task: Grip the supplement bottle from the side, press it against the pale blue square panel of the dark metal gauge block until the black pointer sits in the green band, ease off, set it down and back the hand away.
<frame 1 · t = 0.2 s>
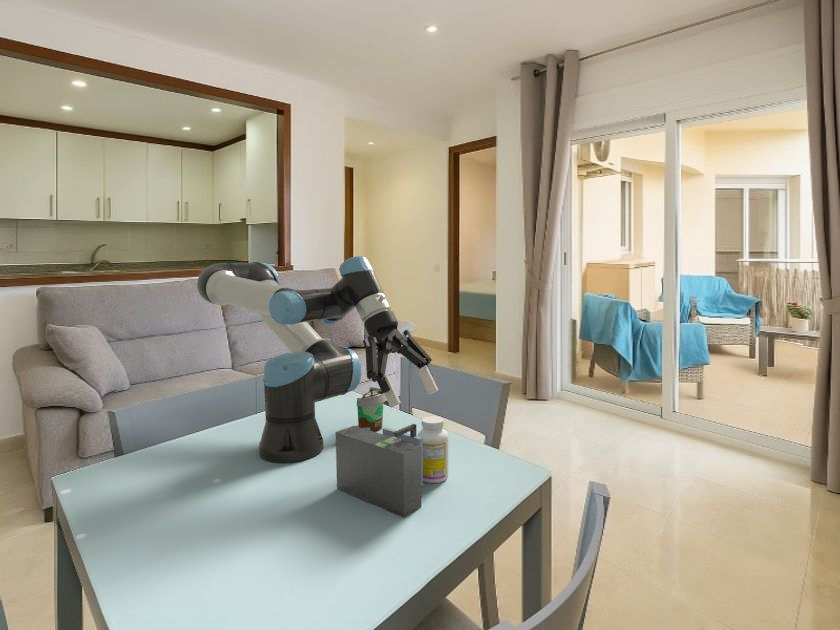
hand: (415, 398, 113), 15 cm above the table, tool tilted 35°, fingers open, 13 cm apart
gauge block: (386, 493, 101), on the table
pale blue square panel: (394, 454, 102), point 7 cm above the table, slide at 0.0 cm
supplement bottle: (432, 478, 108), on the table
food container: (374, 429, 138), on the table
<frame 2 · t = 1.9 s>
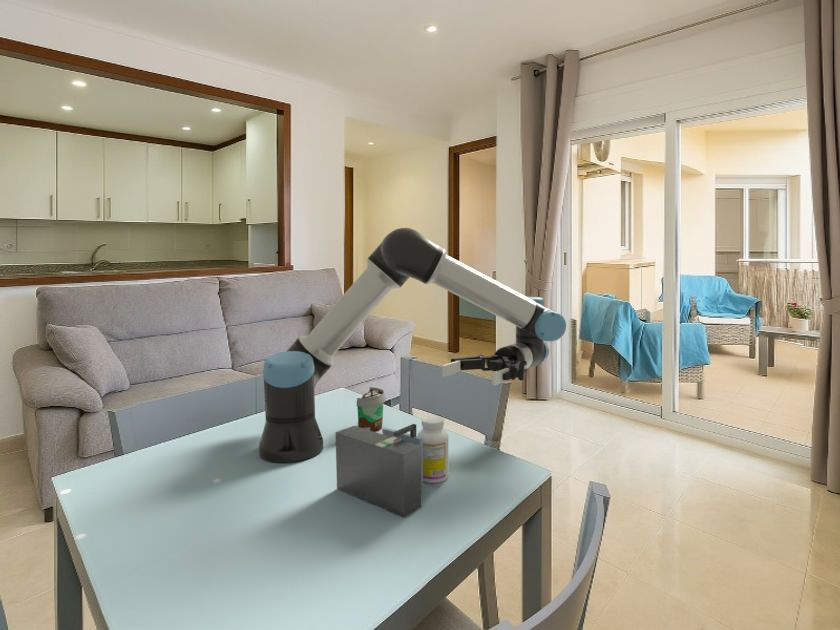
hand: (467, 375, 115), 20 cm above the table, tool horizontal, fingers open, 13 cm apart
nothing on the table moved.
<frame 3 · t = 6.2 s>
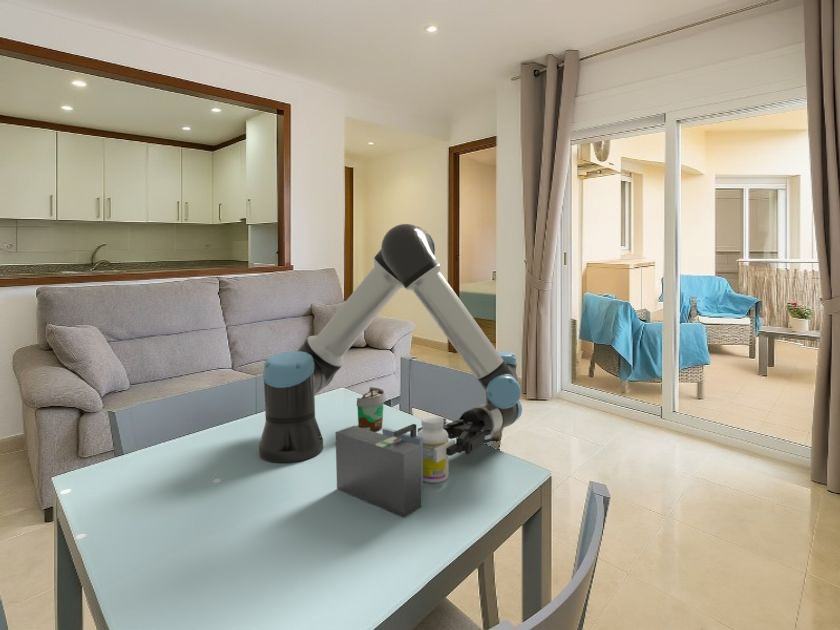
hand: (421, 451, 104), 7 cm above the table, tool horizontal, fingers closed on supplement bottle, 7 cm apart
supplement bottle: (432, 478, 108), on the table, touching gripper
everything else where it was.
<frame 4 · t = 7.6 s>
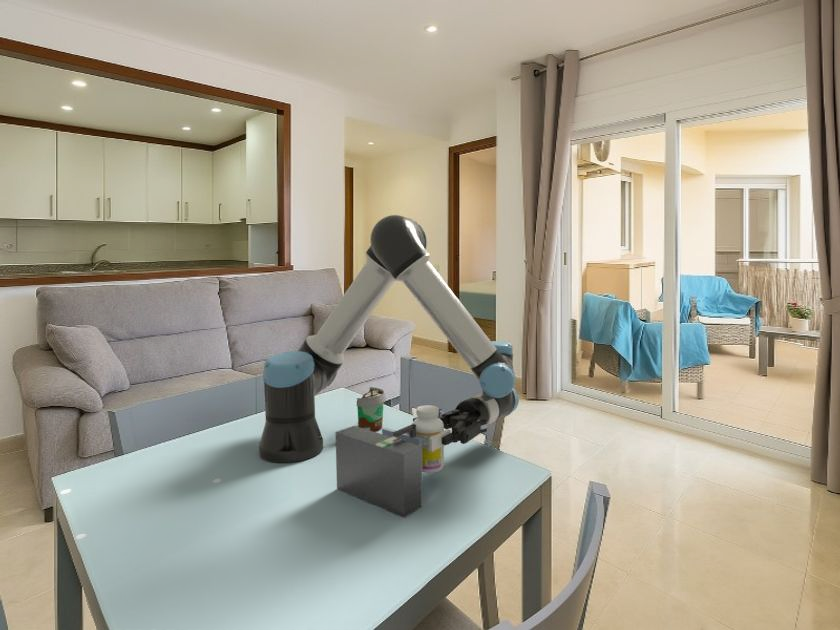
hand: (415, 440, 102), 10 cm above the table, tool horizontal, fingers closed on supplement bottle, 7 cm apart
pale blue square panel: (393, 454, 102), point 7 cm above the table, slide at 0.2 cm, touching gripper
supplement bottle: (428, 468, 106), point 3 cm above the table, touching gripper
everything else where it was.
when the fingers open (8 cm above the table, at t = 10.3 s): supplement bottle stays where it is, on the table.
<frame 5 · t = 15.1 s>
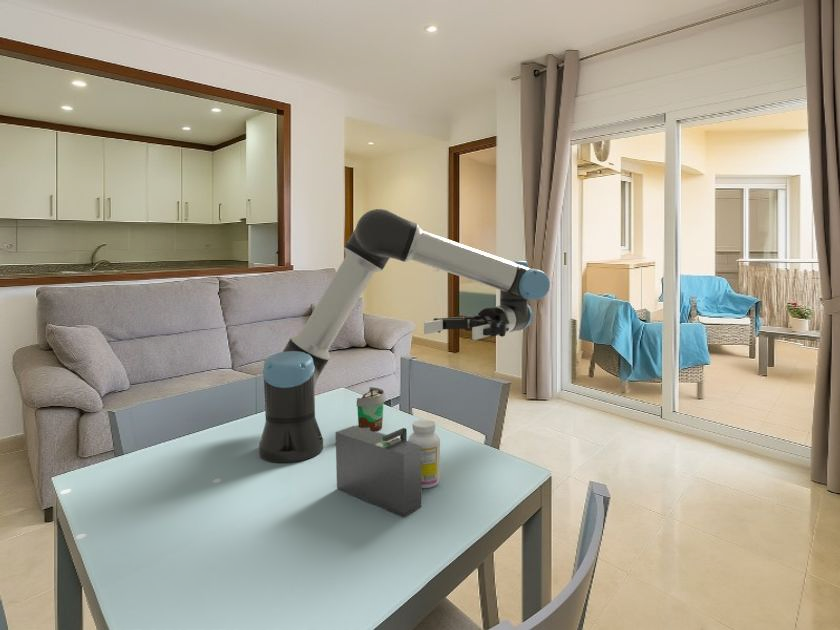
hand: (448, 330, 115), 30 cm above the table, tool horizontal, fingers open, 13 cm apart
pale blue square panel: (383, 459, 99), point 7 cm above the table, slide at 3.1 cm
supplement bottle: (424, 483, 105), on the table
everything else where it was.
at the end: pale blue square panel slide at 3.1 cm; supplement bottle tilted 0°; the gripper is holding nothing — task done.
